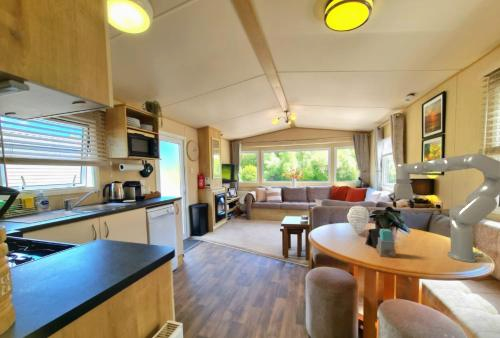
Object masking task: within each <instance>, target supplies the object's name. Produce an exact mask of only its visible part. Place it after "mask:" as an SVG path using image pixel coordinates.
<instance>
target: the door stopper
mask: <svg viewBox="0 0 500 338" xmlns="http://www.w3.org/2000/svg"><path fill="white" fill-rule="evenodd" d="M378 237H380V229H378V228H377V227H376V228H368V234H367V237H366V241H365V245H366V246H369V247H370V248H373V249H375V250H377V245H378Z"/></svg>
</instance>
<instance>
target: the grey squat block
mask: <svg viewBox="0 0 500 338" xmlns="http://www.w3.org/2000/svg"><path fill="white" fill-rule="evenodd" d="M378 246H379V247H380V248H381V249H387V250H394V249H395V241H394V240H393V239H392V241H383V240H382V239H381V238H380V237H378Z"/></svg>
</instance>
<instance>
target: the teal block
mask: <svg viewBox="0 0 500 338" xmlns="http://www.w3.org/2000/svg"><path fill="white" fill-rule="evenodd" d="M392 234H393V231H392V230H390V229H389V228H388V229H387V228H379V236H380V238H381V239H382V240H383V241H392V240H393V238H392V237H393V235H392Z"/></svg>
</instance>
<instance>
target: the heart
mask: <svg viewBox="0 0 500 338" xmlns="http://www.w3.org/2000/svg"><path fill="white" fill-rule="evenodd" d="M346 217H347V221H348V223H349V224H350V226H351V227H352V229H353V230H354V232H355V233H356V234H357V235H361V234H362V233H363V231H364V229H366V227H367V225H368V223H369V221H370V212H369V211H368V209H367V208H365V207H364V206H362V205H354V206H352V207H351V208H350V209H349V210H348V213H347V214H346Z"/></svg>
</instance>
